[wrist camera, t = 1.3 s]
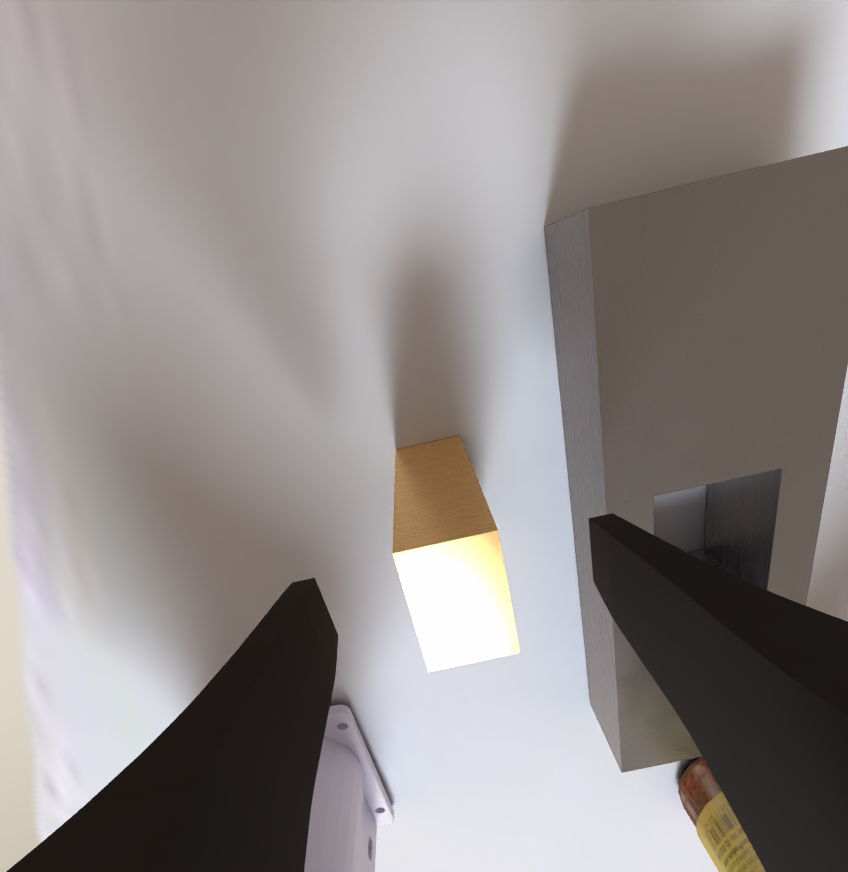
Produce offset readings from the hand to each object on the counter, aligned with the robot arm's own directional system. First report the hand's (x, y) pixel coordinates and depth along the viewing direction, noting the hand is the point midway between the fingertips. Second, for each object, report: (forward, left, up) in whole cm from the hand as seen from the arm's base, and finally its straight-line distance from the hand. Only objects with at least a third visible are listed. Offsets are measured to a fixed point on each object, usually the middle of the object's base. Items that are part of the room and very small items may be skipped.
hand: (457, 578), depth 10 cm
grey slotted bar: (-3, -8, -5) cm, 10 cm away
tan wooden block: (0, 0, -5) cm, 5 cm away
